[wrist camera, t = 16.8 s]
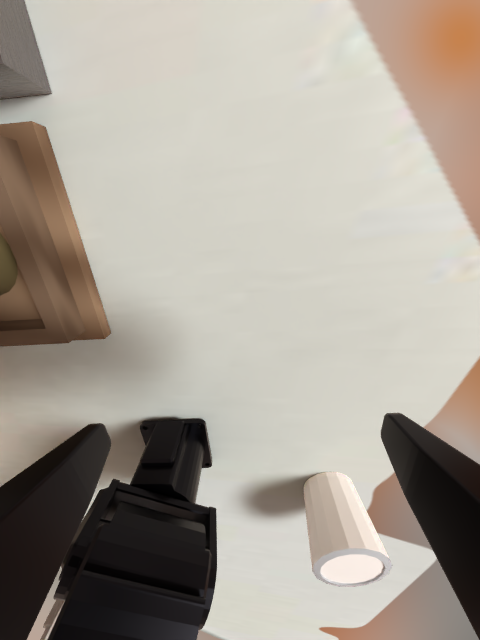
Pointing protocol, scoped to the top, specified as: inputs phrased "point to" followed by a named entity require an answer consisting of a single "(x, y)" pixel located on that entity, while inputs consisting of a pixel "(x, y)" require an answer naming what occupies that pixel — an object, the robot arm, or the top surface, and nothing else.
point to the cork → (7, 267)
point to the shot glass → (342, 533)
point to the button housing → (19, 54)
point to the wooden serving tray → (43, 248)
